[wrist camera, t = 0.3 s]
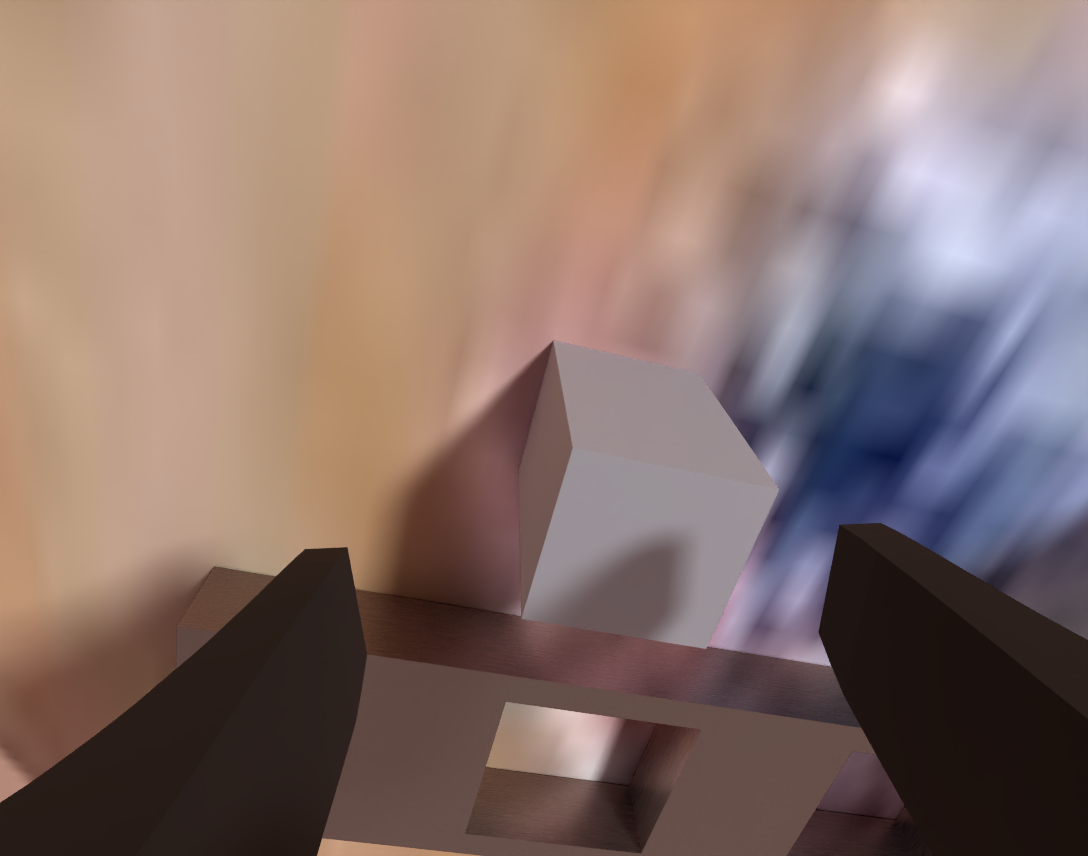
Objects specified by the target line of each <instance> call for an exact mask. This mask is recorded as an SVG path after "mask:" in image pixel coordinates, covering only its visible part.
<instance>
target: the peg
mask: <svg viewBox="0 0 1088 856" xmlns="http://www.w3.org/2000/svg"><path fill="white" fill-rule="evenodd" d="M518 489H519V533H520V578H521V619H525V620H531V621H537V622H544V623H550V624H556V625H562V626H568V627H574V628H581V629H587V630H593V631H599V632H605V633H611V634H617V635H624V636H630V637H636V638H642V639H648V640H654V641H660V642H667V643H673V644H679V645H685V646H691V647H697V648H704V649H706V648H707V646H708V644H709V641H710V639H711V637H712V635H713V633H714V631H715V628H716V626H717V624H718V622H719V620H720V618H721V615H722V613H723V611H724V609H725V607H726V604H727V602H728V600H729V598H730V596H731V594H732V591H733V589H734V587H735V585H736V583H737V580H738V578H739V576H740V574H741V572H742V570H743V567H744V565H745V563H746V561H747V559H748V557H749V554H750V552H751V550H752V548H753V546H754V543H755V541H756V539H757V537H758V535H759V533H760V530H761V528H762V526H763V524H764V522H765V520H766V517H767V515H768V513H769V511H770V509H771V506H772V504H773V502H774V500H775V498H776V496H777V493H778V491H779V489H778V487H777V486H776V484H775V483H774V481H773V480H772V478H771V477H770V476H769V474H768V473H767V471H766V470H765V468H764V467H763V465H762V464H761V462H760V461H759V460H758V458H757V457H756V455H755V454H754V452H753V451H752V449H751V448H750V447H749V445H748V444H747V442H746V441H745V439H744V438H743V436H742V435H741V433H740V432H739V431H738V429H737V428H736V426H735V425H734V423H733V422H732V420H731V419H730V418H729V416H728V415H727V413H726V412H725V410H724V409H723V407H722V406H721V404H720V403H719V402H718V400H717V399H716V397H715V396H714V394H713V393H712V391H711V390H710V389H709V387H708V386H707V384H706V383H705V381H704V380H703V378H702V377H701V375H700V374H699V373H696V372H692V371H687V370H683V369H678V368H674V367H669V366H665V365H661V364H656V363H652V362H647V361H643V360H638V359H634V358H630V357H625V356H621V355H616V354H612V353H607V352H603V351H598V350H594V349H590V348H585V347H581V346H576V345H572V344H567V343H563V342H558V341H554V340H553V344H552V347H551V351H550V355H549V359H548V362H547V366H546V370H545V374H544V377H543V381H542V385H541V389H540V392H539V396H538V400H537V404H536V407H535V411H534V415H533V419H532V422H531V426H530V430H529V434H528V437H527V441H526V445H525V449H524V452H523V456H522V460H521V464H520V467H519V471H518Z"/></svg>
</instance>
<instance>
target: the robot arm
mask: <svg viewBox="0 0 1088 856" xmlns="http://www.w3.org/2000/svg"><path fill="white" fill-rule="evenodd" d="M819 635H820V637H821V640H822V643H823V645H824V648H825V650H826V653H827V656H828V658H829V661H830V664H831V666H832V669H833V671H834V673H835V676H836V678H837V681H838V683H839V685H840V688H841V690H842V692H843V695H844V697H845V699H846V701H847V703H848V704H849V706H850V708H851V710H852V712H853V714H854V715H855V717H856V719H857V721H858V723H859V725H860V726H861V728H862V730H863V732H864V734H865V735H866V737H867V739H868V741H869V743H870V744H871V746H872V748H873V750H874V752H875V753H876V755H877V757H878V759H879V760H880V762H881V764H882V766H883V768H884V769H885V771H886V773H887V775H888V776H889V778H890V780H891V782H892V784H893V785H894V787H895V789H896V791H897V792H898V794H899V796H900V798H901V800H902V801H903V803H904V805H905V807H906V808H907V810H908V812H909V814H910V815H911V817H912V819H913V821H914V823H915V824H916V826H917V828H918V830H919V831H920V833H921V835H922V837H923V839H924V840H925V842H926V844H927V846H928V847H929V849H930V851H931V853H932V855H933V856H1088V640H1087V639H1085V638H1083V637H1081V636H1079V635H1077V634H1075V633H1073V632H1072V631H1070V630H1068V629H1066V628H1064V627H1062V626H1061V625H1059V624H1057V623H1055V622H1053V621H1052V620H1050V619H1048V618H1046V617H1044V616H1043V615H1041V614H1039V613H1037V612H1036V611H1034V610H1032V609H1030V608H1028V607H1027V606H1025V605H1023V604H1021V603H1020V602H1018V601H1016V600H1015V599H1013V598H1011V597H1009V596H1008V595H1006V594H1004V593H1002V592H1001V591H999V590H997V589H996V588H994V587H992V586H990V585H989V584H987V583H985V582H984V581H982V580H980V579H979V578H977V577H975V576H973V575H972V574H970V573H968V572H967V571H965V570H963V569H962V568H960V567H958V566H957V565H955V564H953V563H952V562H950V561H948V560H946V559H945V558H943V557H941V556H940V555H938V554H936V553H935V552H933V551H931V550H929V549H928V548H926V547H924V546H922V545H921V544H919V543H917V542H916V541H914V540H912V539H910V538H908V537H907V536H905V535H903V534H901V533H899V532H897V531H896V530H894V529H892V528H890V527H888V526H886V525H884V524H882V523H870V524H848V525H839V530H838V535H837V540H836V546H835V551H834V556H833V561H832V566H831V571H830V576H829V581H828V587H827V592H826V597H825V602H824V607H823V612H822V617H821V622H820V628H819ZM366 659H367V651H366V645H365V640H364V634H363V629H362V624H361V618H360V613H359V607H358V602H357V597H356V591H355V586H354V581H353V575H352V570H351V564H350V559H349V554H348V548H347V547H344V548H322V549H305V550H304V551H303V552H302V553H300V554H299V555H298V556H297V557H296V558H295V559H294V560H293V561H292V562H291V563H290V564H289V565H288V566H286V567H285V568H284V569H283V570H282V571H281V572H280V573H279V574H278V575H277V576H276V577H275V578H274V579H273V580H272V581H271V582H270V583H269V584H268V585H267V586H266V587H265V588H264V589H263V590H262V591H261V592H260V593H259V594H258V595H257V596H255V597H254V598H253V599H252V600H251V601H250V602H249V603H248V604H247V605H246V606H245V607H244V608H243V609H242V610H241V611H240V612H239V613H238V614H236V615H235V616H234V617H233V618H232V619H231V620H230V621H229V622H228V623H227V624H226V625H225V626H224V627H223V628H222V629H220V630H219V631H218V632H217V633H216V634H215V635H214V636H213V637H212V638H211V639H210V640H209V641H208V642H207V643H205V644H204V645H203V646H202V647H201V648H200V649H199V650H198V651H196V652H195V653H194V654H193V655H192V656H191V657H189V658H188V659H187V660H186V661H185V662H184V663H182V664H181V665H180V666H179V667H178V668H177V669H175V670H174V671H173V672H172V673H171V674H170V675H168V676H167V677H166V678H165V679H164V680H163V681H161V682H160V683H159V684H158V685H157V686H156V687H154V688H153V689H152V690H151V691H150V692H149V693H147V694H146V695H145V696H144V697H143V698H142V699H140V700H139V701H138V702H137V703H136V704H134V705H133V706H132V707H131V708H130V709H128V710H127V711H126V712H125V713H123V714H122V715H121V716H120V717H118V718H117V719H116V720H114V721H113V722H112V723H111V724H109V725H108V726H107V727H105V728H104V729H103V730H102V731H100V732H99V733H98V734H96V735H95V736H94V737H92V738H91V739H90V740H88V741H87V742H86V743H84V744H83V745H82V746H80V747H79V748H78V749H76V750H75V751H73V752H72V753H71V754H69V755H68V756H67V757H65V758H64V759H63V760H61V761H60V762H59V763H57V764H56V765H55V766H53V767H52V768H50V769H49V770H48V771H46V772H45V773H43V774H42V775H41V776H39V777H38V778H36V779H35V780H34V781H32V782H31V783H29V784H28V785H26V786H25V787H24V788H22V789H20V790H19V791H17V792H16V793H14V794H13V795H11V796H10V797H8V798H7V799H5V800H4V801H2V802H1V803H0V856H317V853H318V850H319V847H320V843H321V840H322V837H323V833H324V830H325V826H326V823H327V820H328V816H329V813H330V810H331V806H332V803H333V800H334V796H335V793H336V789H337V786H338V783H339V779H340V776H341V773H342V769H343V766H344V762H345V759H346V755H347V752H348V748H349V745H350V741H351V738H352V734H353V731H354V727H355V724H356V720H357V714H358V708H359V703H360V697H361V691H362V685H363V679H364V672H365V666H366Z"/></svg>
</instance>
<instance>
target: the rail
mask: <svg viewBox="0 0 1088 856" xmlns="http://www.w3.org/2000/svg"><path fill="white" fill-rule="evenodd" d="M274 578H275V576H269V575H262V574H256V573H250V572H244V571H238V570H232V569H225V568H219V567H214V568H213V570H212V571H211V573H210V574H209V576H208V578H207V579H206V581H205V582H204V584H203V586H202V587H201V589H200V590H199V592H198V594H197V595H196V597H195V598H194V600H193V601H192V603H191V605H190V606H189V608H188V609H187V611H186V613H185V614H184V616H183V617H182V619H181V621H180V622H179V624H178V625H177V647H176V669H177V668H178V667H179V666H180V665H181V664H182V663H184V662H185V661H186V660H187V659H188V658H189V657H191V656H192V655H193V654H194V653H195V652H196V651H198V650H199V649H200V648H201V647H202V646H203V645H204V644H205V643H207V642H208V641H209V640H210V639H211V638H212V637H213V636H214V635H215V634H216V633H217V632H218V631H219V630H220V629H222V628H223V627H224V626H225V625H226V624H227V623H228V622H229V621H230V620H231V619H232V618H233V617H234V616H235V615H236V614H238V613H239V612H240V611H241V610H242V609H243V608H244V607H245V606H246V605H247V604H248V603H249V602H250V601H251V600H252V599H253V598H254V597H255V596H257V595H258V594H259V593H260V592H261V591H262V590H263V589H264V588H265V587H266V586H267V585H268V584H269V583H270V582H271V581H272V580H273V579H274ZM355 591H356V597H357V602H358V607H359V613H360V618H361V624H362V629H363V634H364V640H365V645H366V651H367V659H366V666H365V672H364V679H363V685H362V691H361V697H360V703H359V708H358V714H357V720H356V724H355V727H354V731H353V734H352V738H351V741H350V745H349V748H348V752H347V755H346V759H345V762H344V766H343V769H342V773H341V776H340V779H339V783H338V786H337V789H336V793H335V796H334V800H333V803H332V806H331V810H330V813H329V816H328V820H327V823H326V826H325V830H324V833H323V837H322V838H326V839H335V840H344V841H353V842H363V843H372V844H381V845H390V846H399V847H409V848H418V849H427V850H436V851H445V852H455V853H464V854H473V855H482V856H933V855H932V853H931V851H930V849H929V847H928V846H927V844H926V842H925V840H924V839H923V837H922V835H921V833H920V831H919V830H918V828H917V826H916V824H915V823H914V821H913V819H912V817H911V815H910V814H909V812H908V810H907V808H906V807H905V808H904V809H903V810H902V812H901V813H900V815H899V816H898V817H897V819H896V820H891V819H883V818H876V817H868V816H860V815H852V814H844V813H836V812H829V811H821V810H816V808H817V806H818V805H819V803H820V802H821V800H822V798H823V797H824V795H825V794H826V792H827V791H828V789H829V787H830V786H831V784H832V783H833V781H834V779H835V778H836V776H837V775H838V773H839V772H840V770H841V768H842V767H843V765H844V764H845V762H846V760H847V759H848V757H849V756H850V754H851V753H852V751H855V752H862V753H869V754H876V753H875V752H874V750H873V748H872V746H871V744H870V743H869V741H868V739H867V737H866V735H865V734H864V732H863V730H862V728H861V726H860V725H859V723H858V721H857V719H856V717H855V715H854V714H853V712H852V710H851V708H850V706H849V704H848V703H847V701H846V699H845V697H844V695H843V692H842V690H841V688H840V685H839V683H838V681H837V678H836V676H835V673H834V671H833V669H832V667H829V666H823V665H816V664H810V663H804V662H798V661H792V660H786V659H780V658H773V657H767V656H761V655H755V654H749V653H743V652H736V651H730V650H724V649H718V648H712V647H707V648H706V649H704V648H697V647H691V646H685V645H679V644H673V643H667V642H660V641H654V640H648V639H642V638H636V637H630V636H624V635H617V634H611V633H605V632H599V631H593V630H587V629H581V628H574V627H568V626H562V625H556V624H550V623H544V622H537V621H531V620H525V619H521V616H515V615H509V614H502V613H496V612H490V611H484V610H478V609H472V608H466V607H459V606H453V605H447V604H441V603H435V602H429V601H422V600H416V599H410V598H404V597H398V596H392V595H386V594H379V593H373V592H367V591H361V590H355ZM505 702H512V703H519V704H526V705H533V706H540V707H547V708H554V709H561V710H568V711H575V712H582V713H589V714H596V715H603V716H610V717H617V718H624V719H631V720H638V721H645V722H652V723H657V725H656V727H655V729H654V732H653V734H652V736H651V738H650V741H649V743H648V745H647V747H646V750H645V752H644V754H643V756H642V759H641V761H640V763H639V765H638V768H637V770H636V772H635V774H634V777H633V779H632V781H631V783H630V786H625V785H618V784H610V783H602V782H594V781H586V780H579V779H571V778H563V777H555V776H547V775H540V774H532V773H524V772H516V771H508V770H500V769H493V768H485V767H486V764H487V761H488V757H489V754H490V751H491V748H492V744H493V741H494V738H495V735H496V731H497V728H498V725H499V722H500V719H501V715H502V712H503V709H504V706H505Z"/></svg>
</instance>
